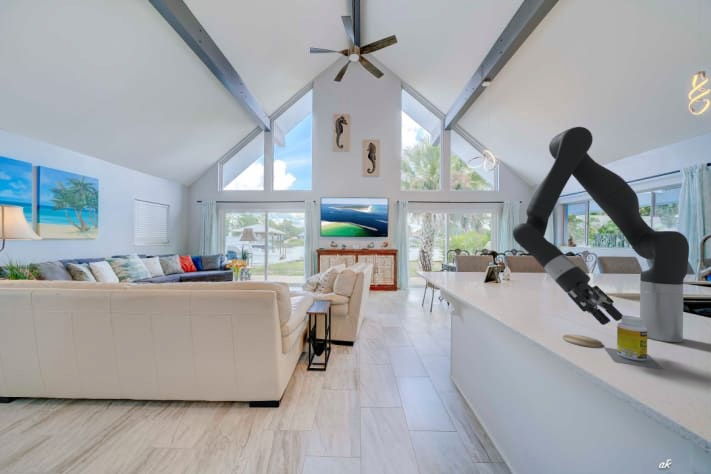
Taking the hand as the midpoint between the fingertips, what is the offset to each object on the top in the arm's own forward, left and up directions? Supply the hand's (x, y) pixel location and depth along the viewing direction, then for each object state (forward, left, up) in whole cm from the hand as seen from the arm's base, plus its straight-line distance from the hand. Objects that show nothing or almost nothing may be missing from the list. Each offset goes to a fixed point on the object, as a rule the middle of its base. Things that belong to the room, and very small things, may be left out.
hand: (614, 321), depth 77 cm
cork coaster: (-6, -6, -8) cm, 12 cm away
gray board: (+2, +3, -8) cm, 9 cm away
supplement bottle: (+2, +3, -9) cm, 9 cm away
